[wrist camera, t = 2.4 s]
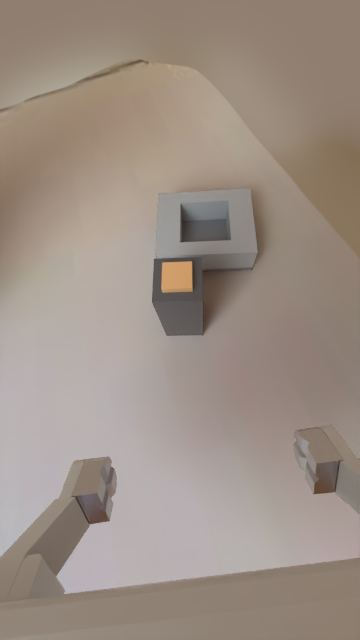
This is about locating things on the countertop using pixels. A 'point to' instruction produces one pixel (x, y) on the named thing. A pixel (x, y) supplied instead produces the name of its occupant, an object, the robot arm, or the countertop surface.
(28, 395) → the countertop surface
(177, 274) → the plug
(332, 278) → the countertop surface
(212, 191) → the socket plate
